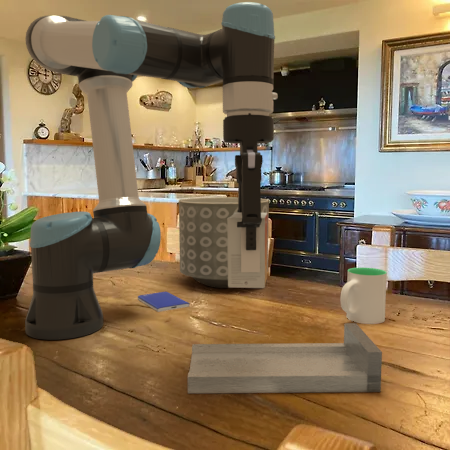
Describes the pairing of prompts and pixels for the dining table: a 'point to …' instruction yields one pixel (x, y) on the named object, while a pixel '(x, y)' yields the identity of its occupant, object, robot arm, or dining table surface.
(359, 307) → the mug
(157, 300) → the hard drive
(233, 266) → the small box
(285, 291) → the dining table surface
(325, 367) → the tray
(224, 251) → the planter
